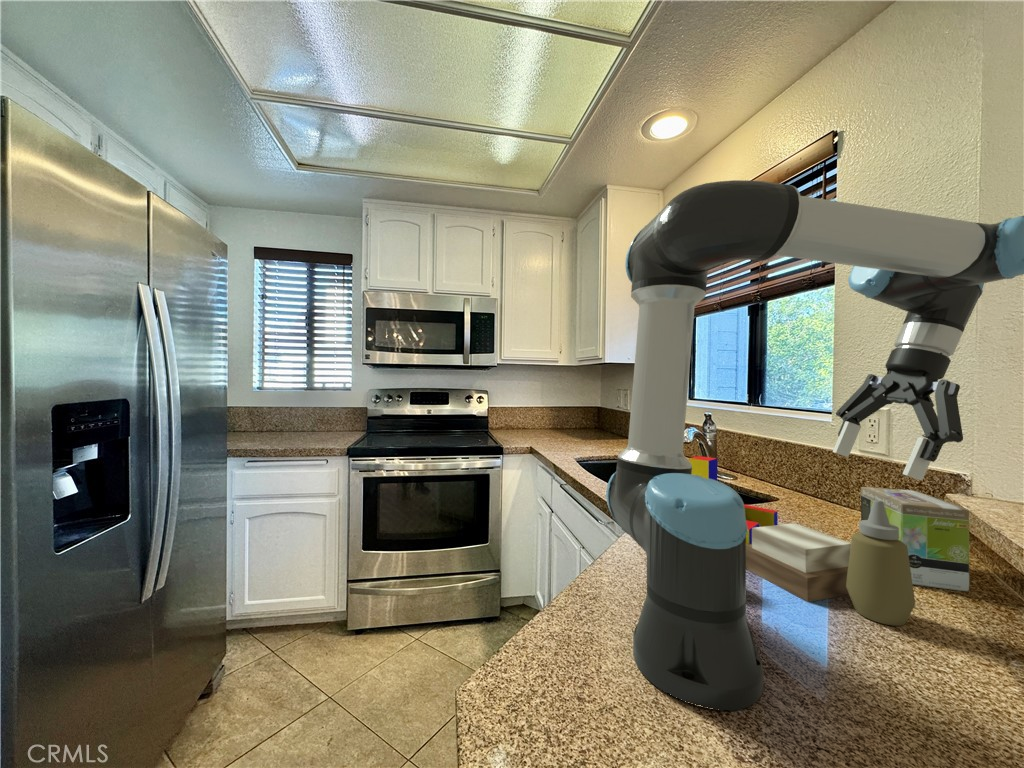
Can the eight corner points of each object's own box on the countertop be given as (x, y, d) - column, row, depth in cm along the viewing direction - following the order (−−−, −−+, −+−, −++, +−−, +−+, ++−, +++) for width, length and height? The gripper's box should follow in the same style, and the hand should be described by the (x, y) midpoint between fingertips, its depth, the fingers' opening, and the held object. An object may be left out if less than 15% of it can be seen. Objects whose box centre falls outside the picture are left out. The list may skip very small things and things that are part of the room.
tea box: (973, 593, 69) (972, 509, 69) (900, 584, 72) (899, 503, 73) (917, 558, 83) (916, 488, 84) (858, 552, 87) (858, 484, 87)
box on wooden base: (807, 601, 66) (807, 554, 66) (739, 565, 80) (739, 525, 80) (869, 591, 70) (868, 545, 70) (794, 558, 83) (793, 520, 83)
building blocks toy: (651, 541, 93) (651, 464, 93) (698, 518, 109) (698, 452, 109) (738, 569, 79) (738, 477, 79) (777, 538, 95) (777, 462, 95)
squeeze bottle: (906, 611, 63) (905, 499, 64) (924, 638, 57) (923, 512, 57) (841, 597, 68) (840, 492, 68) (850, 620, 61) (850, 503, 61)
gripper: (1036, 362, 57) (974, 497, 58) (873, 357, 82) (833, 452, 83) (990, 345, 56) (929, 482, 58) (841, 345, 81) (801, 441, 83)
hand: (872, 465), depth 71 cm, fingers open, 13 cm apart
